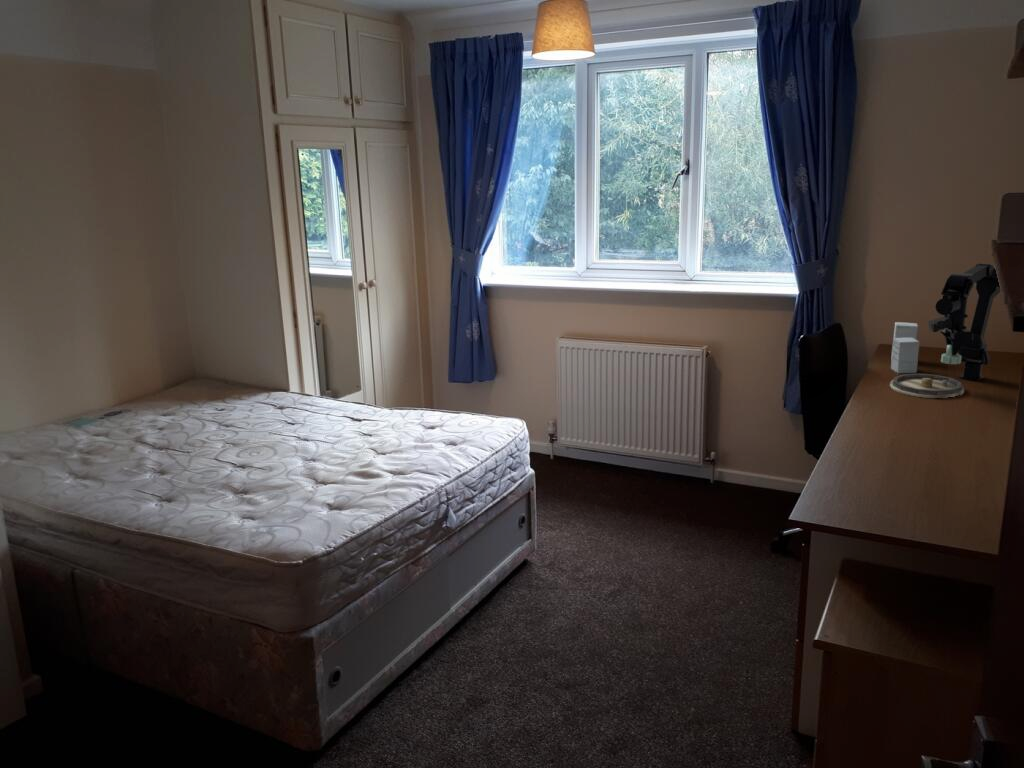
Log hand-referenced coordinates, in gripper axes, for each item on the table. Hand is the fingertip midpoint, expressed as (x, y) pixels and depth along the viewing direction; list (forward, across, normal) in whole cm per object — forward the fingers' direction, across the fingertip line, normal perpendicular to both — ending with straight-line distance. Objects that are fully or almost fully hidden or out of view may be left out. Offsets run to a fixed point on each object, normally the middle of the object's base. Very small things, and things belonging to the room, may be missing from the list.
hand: (951, 353), depth 282 cm
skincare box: (+13, -40, -4) cm, 42 cm away
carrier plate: (+13, -1, -7) cm, 15 cm away
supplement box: (+13, -25, -8) cm, 29 cm away
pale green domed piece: (+3, 0, 0) cm, 3 cm away
